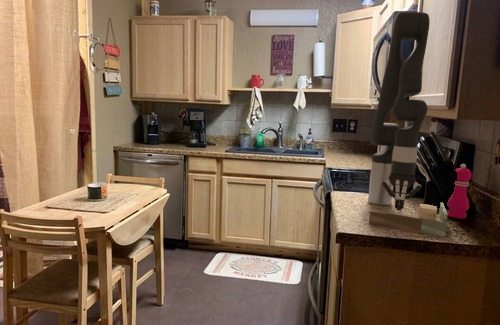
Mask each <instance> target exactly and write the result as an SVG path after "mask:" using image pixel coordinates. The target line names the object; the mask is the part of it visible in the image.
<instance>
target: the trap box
mask: <svg viewBox="0 0 500 325" xmlns="http://www.w3.org/2000/svg"><path fill="white" fill-rule="evenodd" d="M447 213H448V210H446V208H445V206H444V203H443V202H440V208H438V213H437V215H436V220H430V219H423V218H418V217H419V215H416V214H415V215H414V214H408V213H403V209H401V211H400V210H398V212H394V211H388V210H386V211H385V210H383V205H373V208H372V210H370V212H369V218H368V225H369V226H376V227H382V228H389V229H395V230H396V229H397V230H403V231H409V232H413V233H421V234H428V235H434V236H441V237H446V232H447V224H448V222H447V221H448V214H447Z"/></svg>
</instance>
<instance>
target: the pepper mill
mask: <svg viewBox="0 0 500 325" xmlns="http://www.w3.org/2000/svg"><path fill="white" fill-rule="evenodd" d="M455 170H456V172H457V174H458V175H457V181H455V183H454V184H455V187H454V192H453V194H452V195H451V197H450V198H449V200H448V202H447V206H448V207H449V209H450V210H447V214H448V215H447V217H451V218H455V219H460V220H462V219H466V218H467V211H468V210H469V209H470V201H469V199H468V195H467V188H468V187H469V183H470V182H469V181H471V179H472V172H471V171H470V170H469V168H467V165H466V164H465V163H461V164H460V167H458V168H456V169H455Z"/></svg>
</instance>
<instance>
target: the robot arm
mask: <svg viewBox="0 0 500 325" xmlns="http://www.w3.org/2000/svg"><path fill="white" fill-rule="evenodd" d="M429 32H430V15H429V13H427V12H424V11H423V12H422V11H420V12H419V11H399V12H398V13H397V14H396V16H395V18H394V22H393V28H392V32H391V33H392V34H391V38H390V39H391V40H390V45H389V46H390V47H389V50H388V51H389V52H388V58H387V63H386V66H385V71H384V74H383V79H382V82H381V83H382V84H381V89H380V93H379V98H378V104H377V107H376V111H375V115H374V117H373V120H372V124H371V128H370V134H369V141H370V144H372V145H374V146H384V147H386V148H385V149H384V150H381V151H380V152H376V153H373V154H372V156H371V164H370V166H371V167H370V179H369V189H368V195H367V197H368V199H367V202H368V203H370V204H373V205H376V206H391V205H392V199H393V198H394V200H395V201H394V208H395V209H396V211H399V210H400V211H401V209H402V210H404V207H405V200H410V199H411V198H412V197H413V196H415V195H416V194H417V193H418V192H419V191H420V190H421V189H422V184H419V182H417V181H416V180H417V179H416V177H415V175H416V168H417V166H416V165H417V161H418V160H417V159H418V158H417V157H418V142H419V135H420V130H421V128H422V125H423V123H424V121H425V118H426V117H427V113H428V104H427V103H426V101H424V100H422V99H406V98H410V97H415V96H417V95H419V94H420V93H421V92H422V88H423V66H424V61H425V55H426V54H425V53H426V49H427V44H428V38H429ZM402 40H403V41H404V40H405V41H416V44H415V47H414V49H413V50H412V51H411V53H410V54H409V55H408V57H407V59H405V60H404V56H403V53H402ZM390 113H391V115H392V118H393V119H394V120H395V121H400V122H413V123H411V125H410V126H408V127H401V128H400V125H399V124H397V123H392V122H385V121H386V119H387V117H388V115H390ZM412 186H413V187H412ZM411 187H412V188H413V189H411V190H410V191H409V192H408V193H407V190H409V189H410V188H411ZM394 189H395V192H394V191H393V190H394ZM400 190H401V193H400ZM406 193H407V194H406Z"/></svg>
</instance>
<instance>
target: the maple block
mask: <svg viewBox="0 0 500 325" xmlns="http://www.w3.org/2000/svg"><path fill="white" fill-rule="evenodd" d="M418 209H419V210H418V216H419V217H418V218H423V219H430V220H436V215H437V214H438V208H437V206H433V204H432V205H430V204H425V203H420V204H419V208H418Z"/></svg>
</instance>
